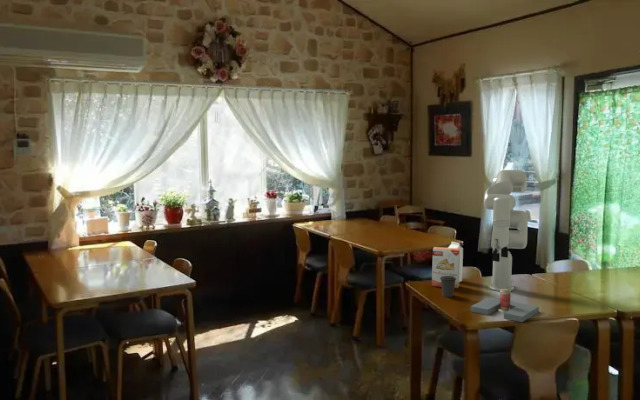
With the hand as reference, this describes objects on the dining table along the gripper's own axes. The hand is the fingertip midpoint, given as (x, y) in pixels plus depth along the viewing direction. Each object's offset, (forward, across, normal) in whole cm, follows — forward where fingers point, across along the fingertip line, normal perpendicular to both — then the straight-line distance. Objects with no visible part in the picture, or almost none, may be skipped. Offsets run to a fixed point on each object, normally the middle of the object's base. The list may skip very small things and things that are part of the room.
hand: (500, 259), depth 267 cm
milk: (+25, -32, -39) cm, 56 cm away
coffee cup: (+24, -2, -28) cm, 36 cm away
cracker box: (+24, -18, -37) cm, 48 cm away
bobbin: (+23, +6, +5) cm, 24 cm away
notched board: (+23, +6, +5) cm, 24 cm away
